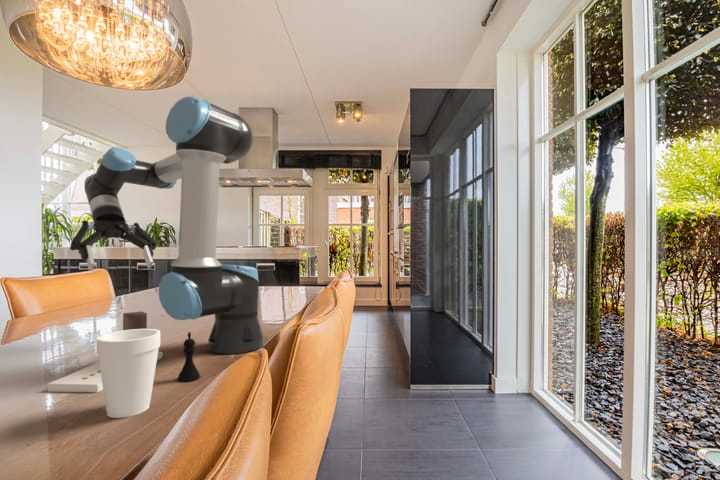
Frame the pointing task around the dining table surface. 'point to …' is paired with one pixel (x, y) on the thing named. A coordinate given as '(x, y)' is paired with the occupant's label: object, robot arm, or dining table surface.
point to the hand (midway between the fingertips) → (122, 266)
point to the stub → (134, 320)
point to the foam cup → (128, 370)
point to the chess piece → (189, 362)
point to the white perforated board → (82, 380)
